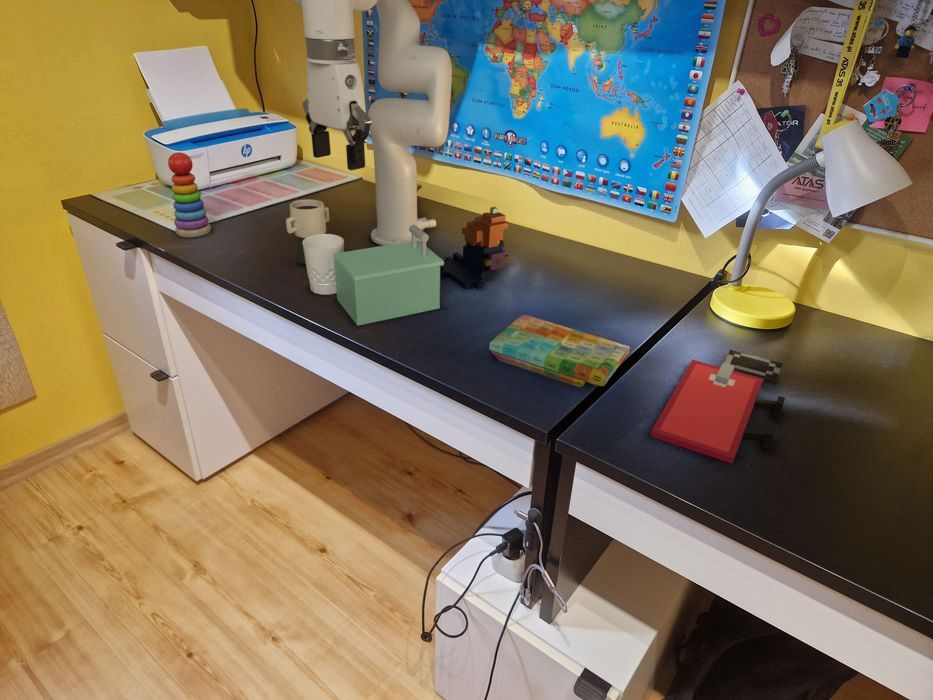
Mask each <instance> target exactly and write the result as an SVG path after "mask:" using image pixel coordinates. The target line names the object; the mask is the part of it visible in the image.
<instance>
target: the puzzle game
mask: <svg viewBox="0 0 933 700" xmlns="http://www.w3.org/2000/svg"><path fill="white" fill-rule="evenodd" d="M488 350H489V352H490V353H491V354H492V355H493V356H494V357H495V358H496V359H497V360H498V361H499V362H502V363H505V364H508V365H511V366H515V367H518V368H519V369H523V370H527V371H529V372H533V373H535V374H539V375H541V376H544V377H546V378H547V377H548V378H549V379H553V380H555V381H559V382H562V383H565V384H569V385H571V386H574V387H577V388H582V387H584V386H585V384H586V383H588V384H590V385H594V386H597V387H605V385H606V384H607V383H608V381H610V378H611V377H612V376H613V375H614V373H615V372H616V371H617V369H618V368H619V367H620V365H622V362H624V360H625V359H626V357H627V356H628V355H629V353H630V350H631V346H629V345H626V344H623V343H620V342H616V341H613V340H609V339H607V338H604V337H600V336H597V335H593V334H590V333H586V332H583V331H581V330H577V329H575V328H570V327H568V326H564V325H560V324H557V323H555V322H551V321H548V320H544V319H541V318H538V317H534V316H531V315H529V314H528V315H527V314H521V315H519V316H518V317H517V318H515V320H513V322H511V323H510V324H509V325H508V326H507V327H506V328H504V330H502V331H501V332H500V333H499V334H498V335H496V336H495V337H494V338H493V339H492V340H490V341H489V343H488Z"/></svg>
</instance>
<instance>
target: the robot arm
mask: <svg viewBox="0 0 933 700" xmlns="http://www.w3.org/2000/svg"><path fill="white" fill-rule="evenodd" d="M293 1H294V2H295V4H296V5H298V6H299V7H300V8H301V11H302V14H301V15H302V22H303V23H302V24H303V35H304V44H305V45H304V46H305V55H306V93H307V94H306V96H307V98H305V100H303V101H302V104H301V105H302V109H303V111H304V114H305V121H306V122H307V124H308V131H309V133H310V134H311V143H312V144H311V145H312V156H313V157H314V158H316V159H319V158H323V157H329V156H331V154H332V153H331V152H332V151H331V140H330V139H331V138H330V131H329V130H327V129H328V128H329V129H332V130H335V131H339V132H342V133H343V135H344V137H345V139H346V141H347V143H348V144H346V145H345V150H346V152H345V153H346V166H347V170H349V171H356V170H360V169H364V168H365V167H366V151H365V144H367V139H368V137H369V135H370V138H371V139H370V140H371V145H372V152H373V163H374V164H373V165H374V166H373V167H374V185H375V186H374V187H375V207H376V208H375V211H376V228H374V229H372V231H371V232H370V239H371V241H372V242H373V243H375V244H376V245H378V246H385V245H391V244H397V243H404V242H410V241H412V233H411V232H410V231H409V227H410V226H411V225H416V226H417V227H418V228H420V229H421V230H422V231H424V230H425V229H431V228H436V227H437V220H436V218H432V219H427V217H421V218H419V217H418V169H417V168H418V167H417V162H416V159H415V157H414V156H413V153H412V152H411V151H410V149H409V147H408V146H411V147H424V148H438V147H441V146H443V145H444V144H445V143H446V141H447V138H448V135H449V126H450V113H451V110H450V109H451V97H452V83H453V82H452V81H453V66H452V60H451V59H452V58H451V57H450V54H449V51H448V50H446V49H444V48H443V47H440V46H436V45H435V46H434V45H420V31H421V21H420V18H419V16H418V13H417V12H416V10H415V9H414V7H413V6H412V4H411V3H410V2H409V1H408V0H293ZM374 6H375V7H376V10H377V13H378V19H379V35H378V36H379V38H378V39H379V40H378V58H377V59H378V60H377V78H378V83H379V85H380V87H381V88H382V89H384V90H385V91H389V92H393V93H401V94H415V95H426V96H428V100H426V99H415V98H414V99H412V98H401V97H384V98H379V99H377V100H375V101H374V102H372V103H371V104H370V106H369V108H368V113H367V112H366V111H367V110H366V99H365V91H364V84H363V83H364V82H363V78H362V73H361V69H360V66H359V62H358V61H357V57H356V37H355V21H354V20H355V19H354V12H366V11H368V10H371V9H372V8H373V7H374ZM353 131H354V134H353V133H352V132H353ZM416 240H419V241H420V242H421V240H420V239H418V238H417V237H416Z"/></svg>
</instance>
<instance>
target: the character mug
mask: <svg viewBox="0 0 933 700" xmlns="http://www.w3.org/2000/svg"><path fill="white" fill-rule="evenodd" d="M329 222H330V209H329V208H328V207H327V206H325V204H324V202H323V201H321V200H319V199H309V198H307V199H298V200H295V201H292V202H291V203H290V204H289V217H287V218H286V219H285V226H286V231H287V233H288V234H294V236H295V237H298V239H297V262H298V263H300V264H303V265H306V263H305V256H304V249H303V243H302V242H303V240H304V239H305V238H307V237H309V236H313V235H318V234H327V223H329Z"/></svg>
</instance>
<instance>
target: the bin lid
mask: <svg viewBox="0 0 933 700" xmlns="http://www.w3.org/2000/svg"><path fill="white" fill-rule="evenodd" d="M409 231H410V232H411V233H412V241H410V242H404V243H397V244H391V245H385V246H383V245H378V246H373V247H367V248H361V249H353V250H349V251H344V252H341V253H335V254H334V258H335V259H336V260H337V261H338V263H339V264H340V265H341V266H342V267H343V268H344V270H345V271H346V272H347V273H348V274H349V275H350V276H351V278H352V279H353V280H354V281H359V280H364V279H370V278H375V277H381V276H386V275H392V274H397V273H403V272H408V271H414V270H419V269H425V268H430V267H436V266H442V265H444V259H442V258H441V257H439V255H437V254H436V253H435V252H434V251H432V250H431V249H430V248H429V247H427V242H428V241H429V239H430V236H429V235H428V234H427V232H425V231H424V230H421V229H420V228H418V227H417V226H416V225H411V226H410V227H409ZM416 237H417V238H418V239H420V240H421V242H420V241H419V240H416Z"/></svg>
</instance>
